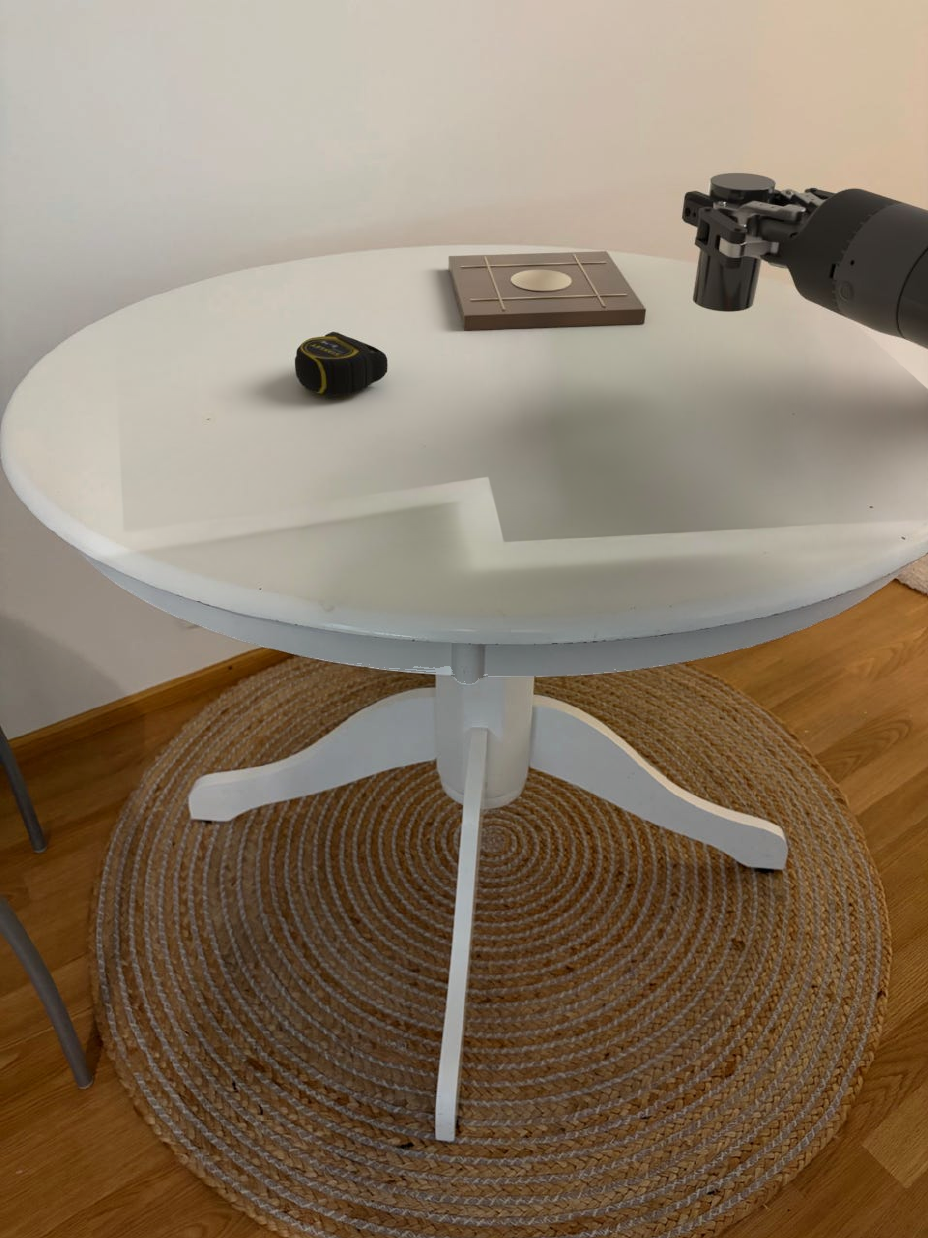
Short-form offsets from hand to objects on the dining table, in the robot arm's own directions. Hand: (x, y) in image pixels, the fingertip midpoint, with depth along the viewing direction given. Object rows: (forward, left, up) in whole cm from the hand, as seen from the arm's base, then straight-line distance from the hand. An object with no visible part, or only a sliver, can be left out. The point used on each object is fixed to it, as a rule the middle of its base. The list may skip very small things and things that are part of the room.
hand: (715, 200), depth 74 cm
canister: (-1, +2, -7) cm, 7 cm away
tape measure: (+30, -3, -16) cm, 34 cm away
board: (+9, -23, -15) cm, 29 cm away
